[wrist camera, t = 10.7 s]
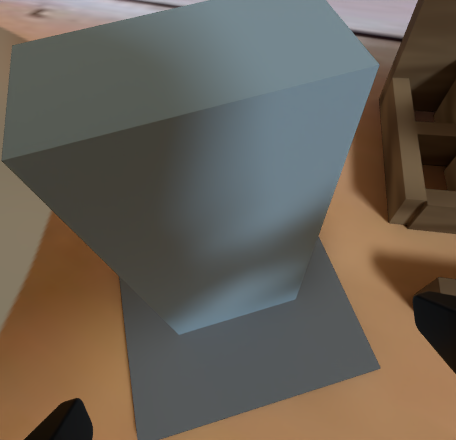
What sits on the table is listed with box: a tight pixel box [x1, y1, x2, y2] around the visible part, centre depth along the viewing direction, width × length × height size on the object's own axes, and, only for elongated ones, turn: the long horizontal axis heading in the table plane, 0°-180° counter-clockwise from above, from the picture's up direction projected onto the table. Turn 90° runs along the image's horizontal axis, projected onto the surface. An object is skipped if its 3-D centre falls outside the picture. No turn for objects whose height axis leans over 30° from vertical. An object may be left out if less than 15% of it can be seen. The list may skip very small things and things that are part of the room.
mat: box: [119, 236, 380, 440], centre depth 17 cm, size 11×11×1 cm
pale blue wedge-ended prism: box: [2, 0, 379, 335], centre depth 11 cm, size 3×6×13 cm, turn 106°
